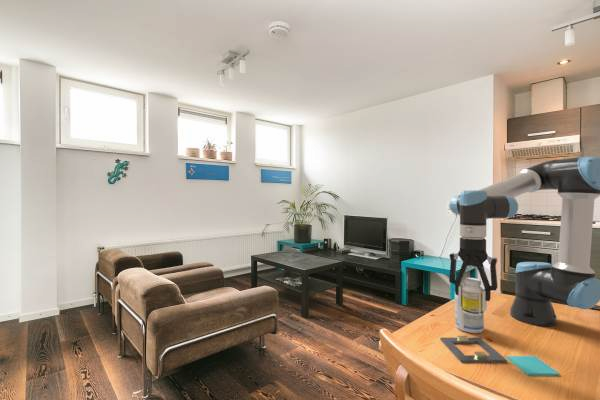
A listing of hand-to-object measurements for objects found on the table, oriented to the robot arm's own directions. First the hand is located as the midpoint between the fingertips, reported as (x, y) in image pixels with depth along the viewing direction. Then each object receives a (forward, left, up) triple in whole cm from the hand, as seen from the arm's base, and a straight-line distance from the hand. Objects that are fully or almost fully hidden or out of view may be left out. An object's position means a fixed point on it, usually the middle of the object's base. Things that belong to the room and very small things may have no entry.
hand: (472, 307), depth 99 cm
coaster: (-13, +9, -14) cm, 21 cm away
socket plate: (0, 0, -14) cm, 14 cm away
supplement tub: (-8, -16, -15) cm, 23 cm away
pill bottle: (0, 0, -2) cm, 2 cm away
